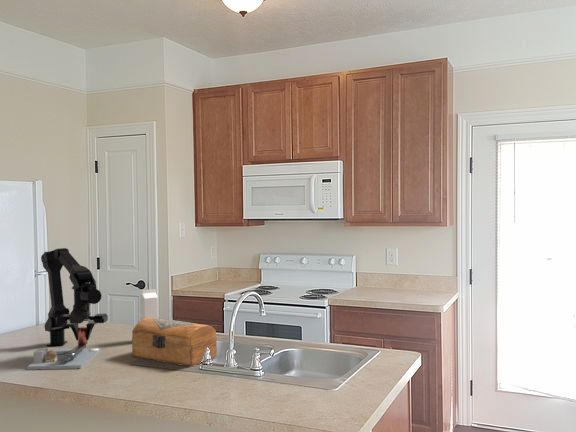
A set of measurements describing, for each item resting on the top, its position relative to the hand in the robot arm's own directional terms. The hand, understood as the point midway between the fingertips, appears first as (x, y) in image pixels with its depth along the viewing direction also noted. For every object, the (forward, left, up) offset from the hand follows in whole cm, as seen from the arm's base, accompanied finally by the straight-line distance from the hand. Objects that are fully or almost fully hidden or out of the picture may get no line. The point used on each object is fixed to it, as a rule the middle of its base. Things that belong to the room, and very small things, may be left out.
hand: (82, 340), depth 222 cm
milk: (-19, +23, -5) cm, 30 cm away
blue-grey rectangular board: (+10, -3, -5) cm, 12 cm away
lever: (+9, 0, -3) cm, 9 cm away
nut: (+15, -7, -2) cm, 17 cm away
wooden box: (+9, +37, -6) cm, 39 cm away
